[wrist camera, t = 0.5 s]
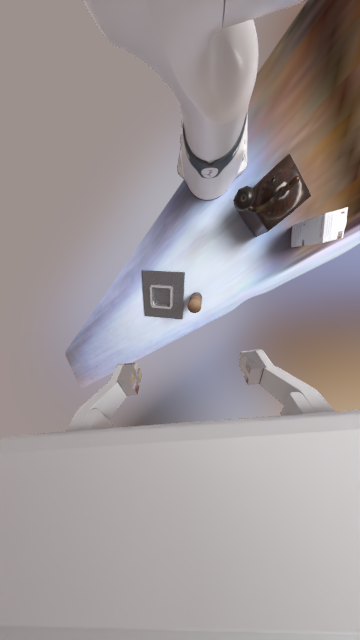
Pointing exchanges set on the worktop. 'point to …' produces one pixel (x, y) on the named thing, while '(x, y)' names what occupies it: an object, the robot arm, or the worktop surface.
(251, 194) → the manual coffee grinder
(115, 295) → the worktop surface
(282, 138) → the worktop surface
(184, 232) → the worktop surface
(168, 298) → the plate
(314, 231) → the skincare box
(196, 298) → the walnut peg
